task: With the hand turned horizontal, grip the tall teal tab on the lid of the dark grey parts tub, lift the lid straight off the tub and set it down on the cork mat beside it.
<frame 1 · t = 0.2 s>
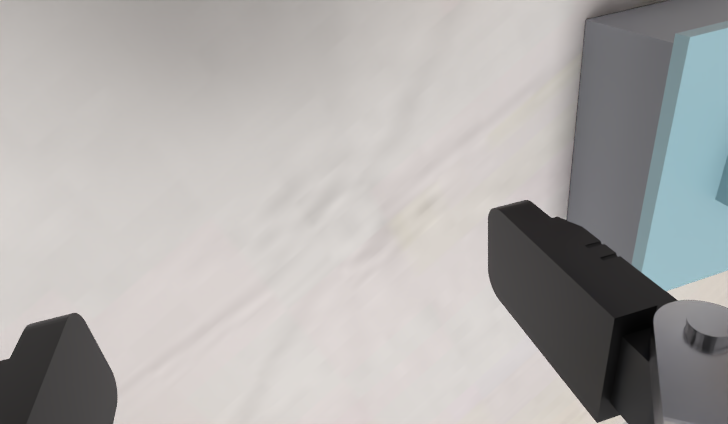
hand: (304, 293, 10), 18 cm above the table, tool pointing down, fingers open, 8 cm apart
tub: (642, 114, 33), on the table
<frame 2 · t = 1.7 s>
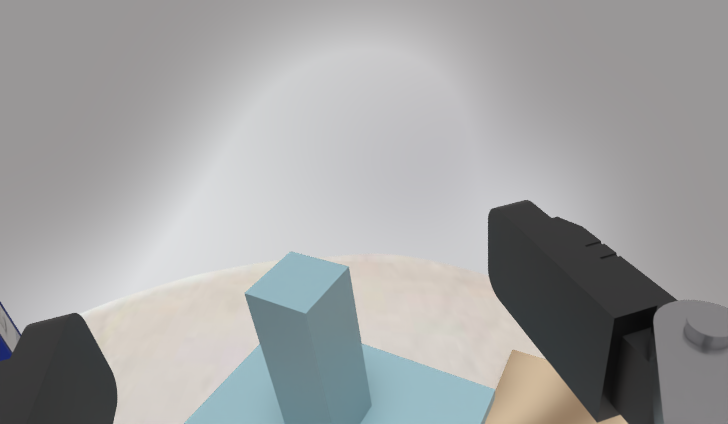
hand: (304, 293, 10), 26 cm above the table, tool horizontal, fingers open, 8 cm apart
mat: (566, 413, 36), on the table
milk carton: (3, 413, 42), on the table
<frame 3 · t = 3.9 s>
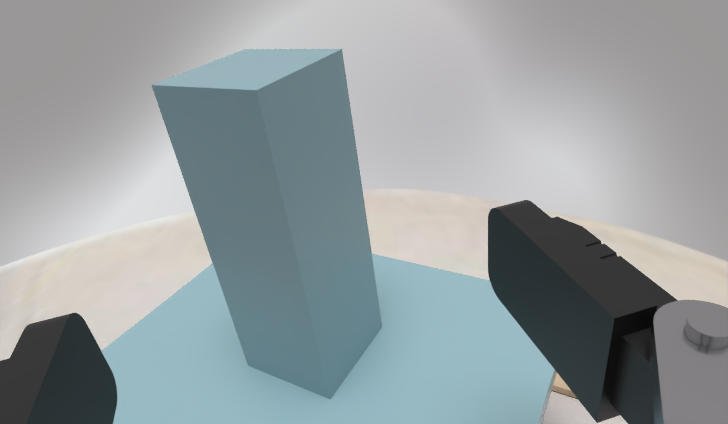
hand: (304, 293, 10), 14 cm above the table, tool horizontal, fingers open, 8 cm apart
lid: (320, 361, 18), point 7 cm above the table, touching tub
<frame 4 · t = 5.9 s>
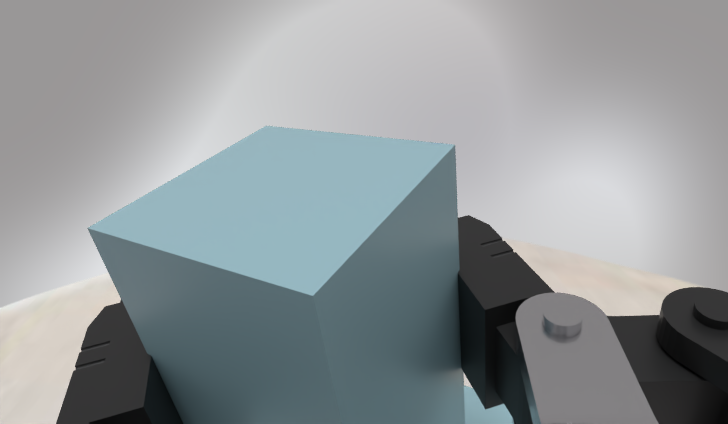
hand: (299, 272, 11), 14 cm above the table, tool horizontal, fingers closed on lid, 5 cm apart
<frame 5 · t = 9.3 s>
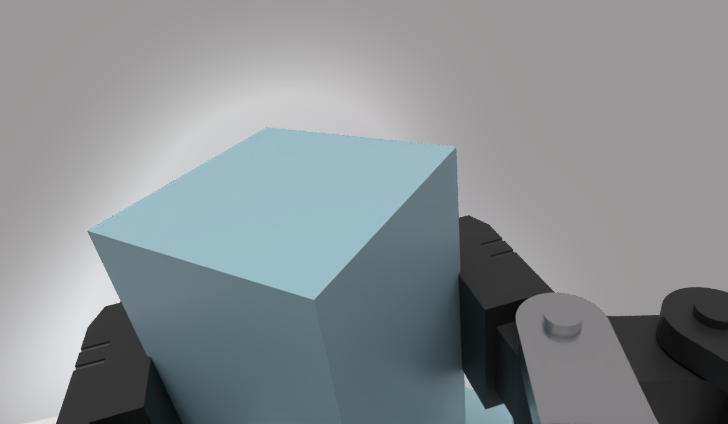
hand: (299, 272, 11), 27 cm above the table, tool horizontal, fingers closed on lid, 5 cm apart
when the fingers open (9 cm above the table, at t = 12.8 s): lid drops 1 cm, resting on mat.
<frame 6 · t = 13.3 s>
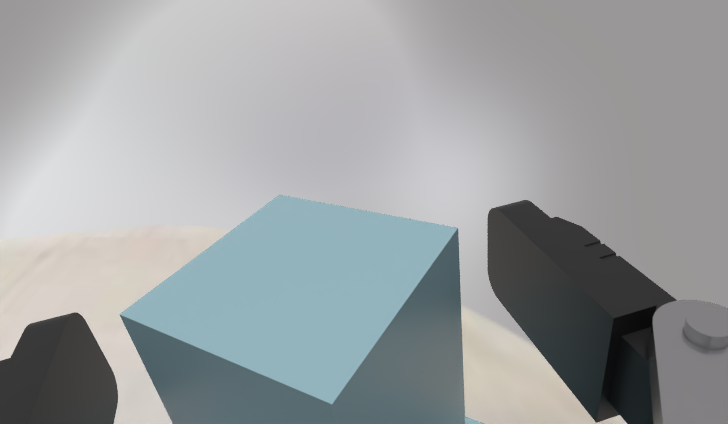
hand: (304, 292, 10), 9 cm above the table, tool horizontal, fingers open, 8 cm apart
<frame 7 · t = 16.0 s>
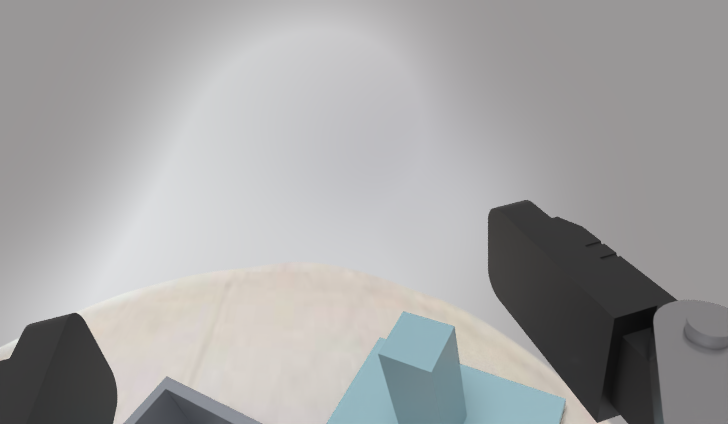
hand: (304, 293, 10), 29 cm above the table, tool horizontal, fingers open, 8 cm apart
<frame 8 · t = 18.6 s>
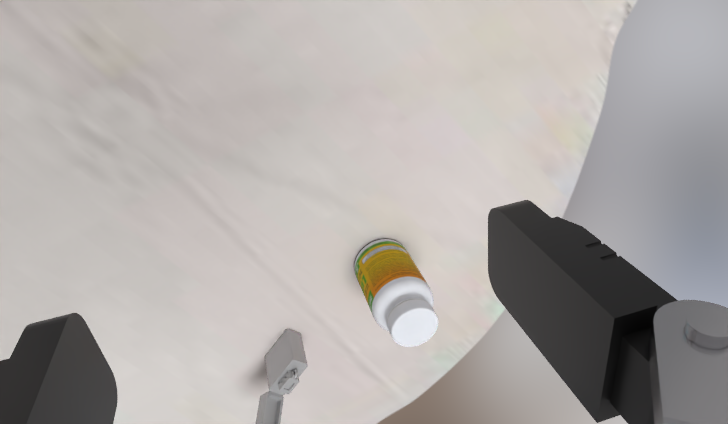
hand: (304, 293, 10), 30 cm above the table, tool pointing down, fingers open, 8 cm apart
supplement bottle: (379, 260, 48), on the table
lighter: (274, 354, 50), on the table
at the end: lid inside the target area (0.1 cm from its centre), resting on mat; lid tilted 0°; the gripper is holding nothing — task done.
